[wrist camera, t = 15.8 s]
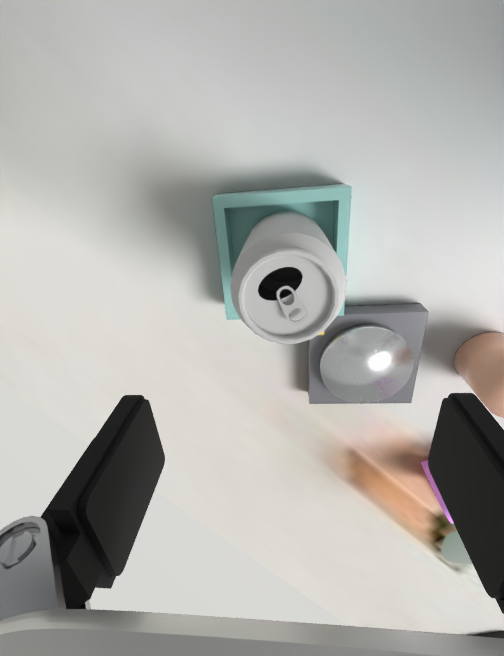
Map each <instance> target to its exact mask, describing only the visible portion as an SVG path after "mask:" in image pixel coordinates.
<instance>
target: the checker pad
mask: <svg viewBox="0 0 504 656" xmlns="http://www.w3.org/2000/svg"><path fill="white" fill-rule="evenodd" d="M319 364H320V372H321V377H322V380H323V383H324V384H325V386H326V388H327V389H328V390H329V391H330V392H331V393H332V394H333V395H335V396H336V397H338V398H340V399H342V400H344V401H347V402H351V403H360V404H365V403H373V402H378V401H381V400H384V399H386V398H388V397H390V396H392V395H394V394H395V393H397V392H398V391H399V390H400V389H401V388H402V387H403V386H404V385H405V384H406V383H407V381H408V380H409V378H410V376H411V374H412V370H413V365H414V360H413V354H412V352H411V349H410V347H409V346H408V344H407V343H406V342H405V340H404V339H403V337H402V336H401V335H400V334H399V333H397V332H396V331H395V330H393V329H391V328H389V327H387V326H384V325H380V324H374V323H365V324H358V325H354V326H350V327H348V328H346V329H343V330H342V331H340V332H338V333H337V334H336V335H334V336H333V337H332V338H331V339H330V340H329V341H328V342H327V344H326V345H325V347H324V348H323V350H322V353H321V356H320V362H319Z"/></svg>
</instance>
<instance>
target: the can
mask: <svg viewBox="0 0 504 656" xmlns="http://www.w3.org/2000/svg"><path fill="white" fill-rule="evenodd" d="M346 283H347V279H346V276H345V272H344V269H343V266H342V263H341V261H340V259H339V257H338V256H337V254H336V252H335V251H334V249H333V247H332V246H331V244H330V242H329V241H328V239H327V237H326V236H325V234H324V232H323V231H322V230H321V228H320V227H319V226H318V224H317V223H316V221H314V220H313V219H311V218H310V217H308V216H307V215H305V214H303V213H299V212H295V211H291V210H290V211H277V212H275V213H272V214H270V215H268V216H265V217H264V218H263V219H261V220H260V221H259V222H258V223H257V224H256V225H255V226H254V227H253V229H252V230H251V232H250V234H249V235H248V237H247V239H246V241H245V244H244V246H243V248H242V251H241V253H240V255H239V258H238V260H237V262H236V265H235V267H234V270H233V275H232V279H231V284H230V289H231V297H232V303H233V305H234V307H235V310H236V312H237V314H238V316H239V318H240V319H241V320H242V321H243V322H244V323H245V324H246V325H247V326H248V327H249V328H250V329H251V330H252V331H253V332H254V333H255V334H257V335H259V336H261V337H262V338H264V339H266V340H268V341H272V342H276V343H280V344H296V343H300V342H303V341H307V340H310V339H312V338H314V337H315V336H317V335H318V334H320V333H321V332H323V331H324V330H325V329H326V328H327V327H328V326H329V325H330V324H331V322H332V321H333V320H334V319H335V318H336V316H337V315H338V314H339V312H340V310H341V308H342V305H343V303H344V300H345V298H346Z"/></svg>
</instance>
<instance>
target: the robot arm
mask: <svg viewBox="0 0 504 656" xmlns="http://www.w3.org/2000/svg"><path fill="white" fill-rule="evenodd" d="M164 462H165V456H164V452H163V448H162V445H161V441H160V438H159V434H158V431H157V427H156V424H155V420H154V417H153V413H152V410H151V406H150V403H149V401H148V400H146V399H144V397H143V396H142V395H125V396H123V397H122V398H121V400H120V401H119V403H118V404H117V406H116V407H115V409H114V410H113V412H112V413H111V415H110V416H109V418H108V419H107V421H106V422H105V424H104V425H103V427H102V428H101V430H100V431H99V433H98V434H97V436H96V437H95V438H94V439H93V440H92V442H91V443H90V445H89V446H88V448H87V449H86V451H85V452H84V454H83V455H82V456H81V458H80V459H79V461H78V462H77V464H76V466H75V467H74V468H73V470H72V471H71V473H70V474H69V476H68V477H67V479H66V480H65V482H64V483H63V485H62V486H61V488H60V489H59V491H58V492H57V493H56V495H55V496H54V498H53V499H52V501H51V502H50V504H49V505H48V507H47V508H46V510H45V511H44V513H43V514H42V516H41V517H36V516H29V517H24V518H21V519H19V520H16V521H14V522H12V523H11V524H9V525H7V526H6V527H4V528H3V529H2V530H0V656H504V639H502V638H491V637H481V636H470V635H459V634H446V633H433V632H420V631H407V630H394V629H381V628H368V627H355V626H341V625H327V624H313V623H298V622H285V621H271V620H256V619H243V618H228V617H213V616H198V615H181V614H167V613H152V612H136V611H135V612H134V611H113V610H91V608H90V603H89V599H90V598H91V596H92V593H93V591H94V589H95V587H98V588H111V587H112V585H113V582H114V580H115V577H116V576H119V575H120V574H121V573H122V572H123V570H124V567H125V565H126V562H127V559H128V557H129V554H130V552H131V549H132V547H133V544H134V542H135V539H136V536H137V534H138V531H139V528H140V526H141V523H142V521H143V518H144V516H145V513H146V510H147V508H148V505H149V503H150V500H151V498H152V495H153V492H154V490H155V487H156V485H157V482H158V480H159V477H160V474H161V472H162V469H163V466H164ZM428 467H429V471H430V473H431V475H432V477H433V480H434V482H435V484H436V486H437V488H438V490H439V492H440V494H441V497H442V499H443V501H444V503H445V505H446V507H447V509H448V512H449V514H450V516H451V518H452V520H453V522H454V524H455V527H456V529H457V531H458V533H459V535H460V537H461V539H462V541H463V543H464V545H465V548H466V550H467V552H468V554H469V556H470V559H471V561H472V563H473V565H474V567H475V569H476V571H477V574H478V576H479V578H480V580H481V582H482V584H483V586H484V588H485V590H486V592H487V593H488V595H489V596H490V597H491V598H496V601H497V603H498V605H499V607H500V609H501V611H502V613H503V614H504V430H503V429H502V427H501V426H500V425H499V424H498V422H497V421H496V420H495V419H494V418H493V416H492V415H491V414H490V413H489V411H488V410H487V409H486V408H485V406H484V405H483V404H482V403H481V401H480V400H479V399H478V398H477V397H476V396H475V395H474V394H472V393H451V394H450V395H449V396H448V398H444V399H443V401H442V404H441V408H440V412H439V417H438V421H437V425H436V429H435V433H434V437H433V441H432V445H431V449H430V453H429V457H428Z"/></svg>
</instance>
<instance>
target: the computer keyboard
mask: <svg viewBox="0 0 504 656" xmlns="http://www.w3.org/2000/svg"><path fill="white" fill-rule="evenodd" d="M472 636H481V637H491V638H502V639H504V631H499V632H492V633H486V634H479V635H472Z"/></svg>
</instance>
